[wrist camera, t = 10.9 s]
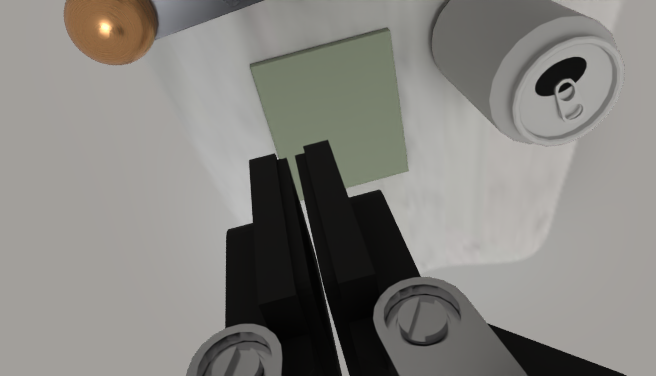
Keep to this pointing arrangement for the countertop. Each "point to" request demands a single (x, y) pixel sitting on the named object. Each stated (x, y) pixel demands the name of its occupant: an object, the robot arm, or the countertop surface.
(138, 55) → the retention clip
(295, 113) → the mat
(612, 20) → the countertop surface
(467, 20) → the can
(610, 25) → the countertop surface
